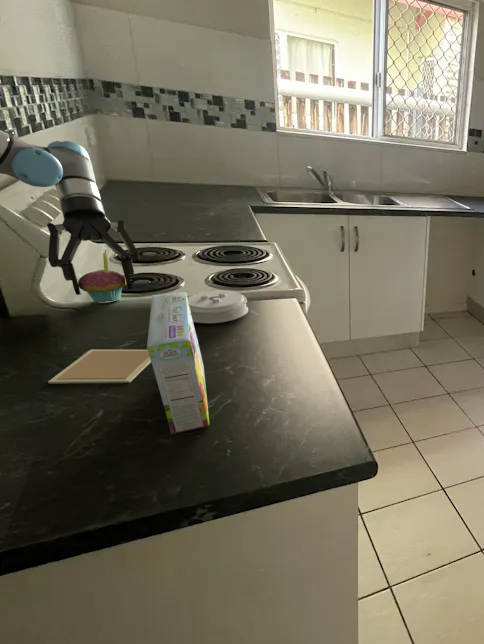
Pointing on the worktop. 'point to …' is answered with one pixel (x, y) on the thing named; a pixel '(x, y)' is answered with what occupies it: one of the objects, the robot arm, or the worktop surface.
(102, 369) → the tan square board
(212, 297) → the lid
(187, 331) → the snack box
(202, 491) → the worktop surface
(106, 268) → the cupcake
